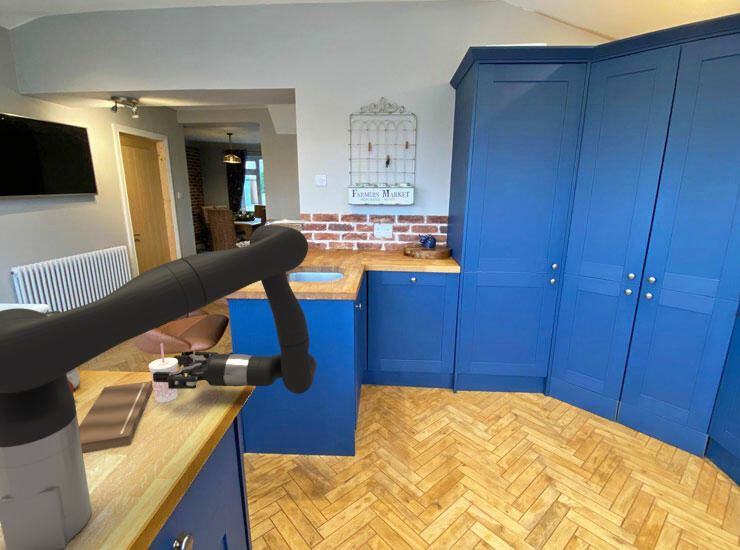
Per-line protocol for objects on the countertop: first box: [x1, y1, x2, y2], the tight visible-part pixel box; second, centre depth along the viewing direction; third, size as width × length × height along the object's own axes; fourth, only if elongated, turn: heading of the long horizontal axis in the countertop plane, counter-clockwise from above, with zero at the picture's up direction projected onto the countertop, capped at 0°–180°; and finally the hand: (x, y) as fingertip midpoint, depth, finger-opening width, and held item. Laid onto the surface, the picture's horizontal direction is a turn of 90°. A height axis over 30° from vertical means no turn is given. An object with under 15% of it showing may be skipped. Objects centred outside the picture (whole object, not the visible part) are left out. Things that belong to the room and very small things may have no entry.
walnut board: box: [79, 375, 181, 453], centre depth 81 cm, size 24×17×2 cm
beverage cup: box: [148, 342, 179, 403], centre depth 86 cm, size 6×6×14 cm
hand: (164, 368), depth 86 cm, fingers open, 8 cm apart
